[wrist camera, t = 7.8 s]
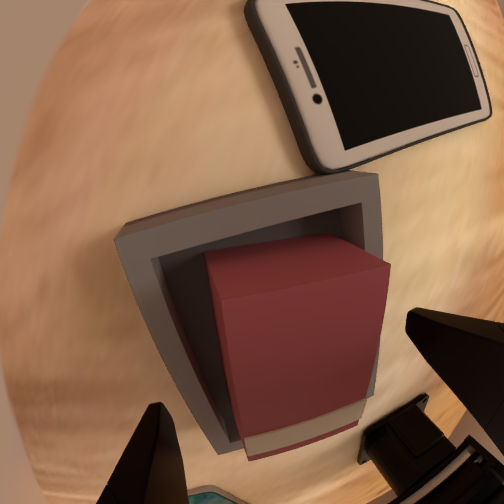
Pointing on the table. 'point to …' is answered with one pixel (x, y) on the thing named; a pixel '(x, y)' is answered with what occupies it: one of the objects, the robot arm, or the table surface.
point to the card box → (296, 336)
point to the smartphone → (211, 496)
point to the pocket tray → (196, 281)
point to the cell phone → (368, 75)
